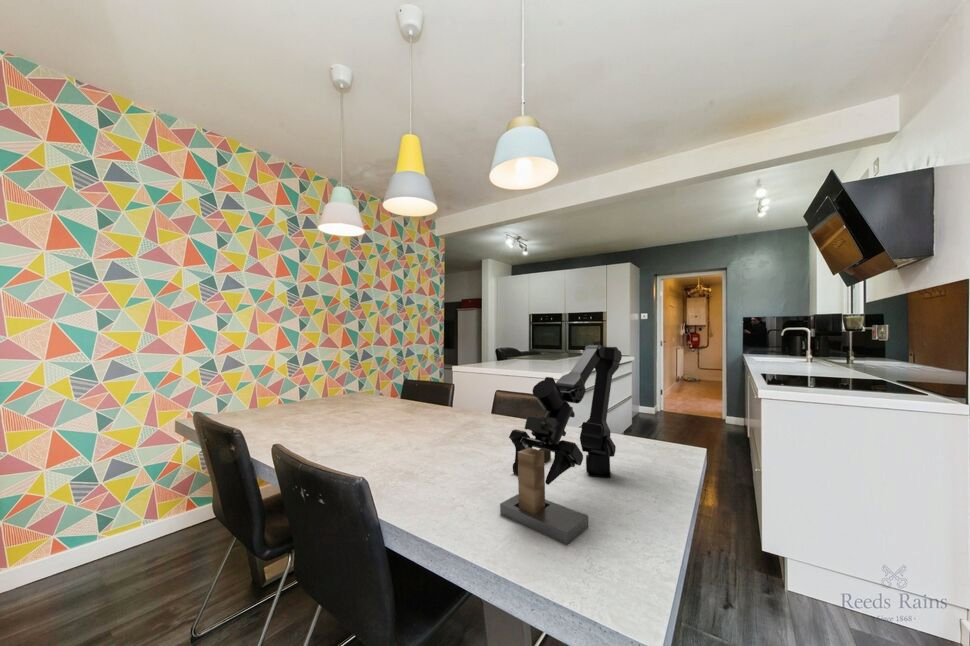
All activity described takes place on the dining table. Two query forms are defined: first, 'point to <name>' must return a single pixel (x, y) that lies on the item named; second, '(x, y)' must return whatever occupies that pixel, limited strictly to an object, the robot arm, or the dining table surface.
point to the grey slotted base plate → (548, 519)
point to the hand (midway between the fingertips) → (530, 478)
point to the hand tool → (546, 457)
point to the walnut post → (531, 480)
